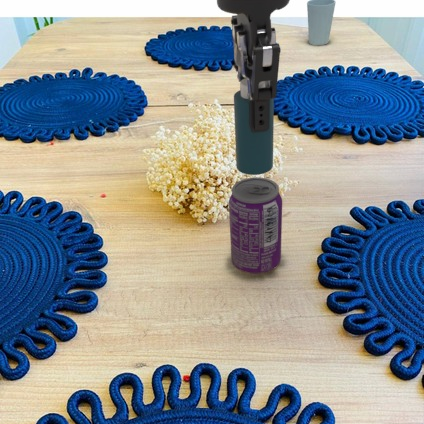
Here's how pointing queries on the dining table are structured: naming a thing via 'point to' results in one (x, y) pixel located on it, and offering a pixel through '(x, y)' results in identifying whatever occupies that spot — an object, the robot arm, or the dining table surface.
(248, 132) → the bottle
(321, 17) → the cup
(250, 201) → the beverage can
